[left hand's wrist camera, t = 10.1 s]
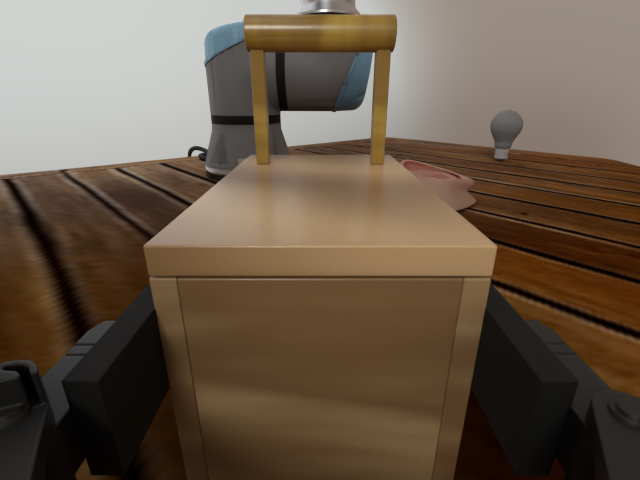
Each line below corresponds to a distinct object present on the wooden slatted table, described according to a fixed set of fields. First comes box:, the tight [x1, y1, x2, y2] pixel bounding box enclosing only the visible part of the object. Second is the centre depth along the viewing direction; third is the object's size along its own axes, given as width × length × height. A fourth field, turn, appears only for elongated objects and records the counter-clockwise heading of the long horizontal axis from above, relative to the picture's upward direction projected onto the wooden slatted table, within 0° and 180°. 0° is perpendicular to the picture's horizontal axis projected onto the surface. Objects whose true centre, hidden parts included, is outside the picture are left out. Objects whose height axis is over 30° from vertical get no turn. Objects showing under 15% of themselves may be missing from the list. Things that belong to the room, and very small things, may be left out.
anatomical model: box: [400, 160, 476, 211], centre depth 50 cm, size 13×4×12 cm
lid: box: [143, 15, 497, 276], centre depth 15 cm, size 15×9×8 cm, turn 0°
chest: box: [149, 276, 491, 480], centre depth 18 cm, size 15×9×9 cm, turn 0°
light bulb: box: [491, 110, 523, 160], centre depth 77 cm, size 6×6×10 cm
